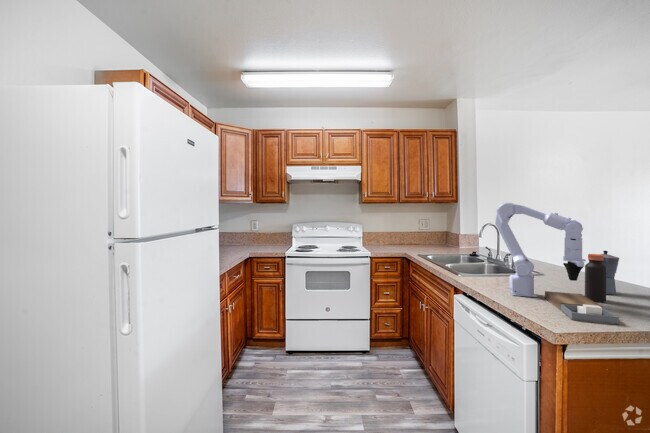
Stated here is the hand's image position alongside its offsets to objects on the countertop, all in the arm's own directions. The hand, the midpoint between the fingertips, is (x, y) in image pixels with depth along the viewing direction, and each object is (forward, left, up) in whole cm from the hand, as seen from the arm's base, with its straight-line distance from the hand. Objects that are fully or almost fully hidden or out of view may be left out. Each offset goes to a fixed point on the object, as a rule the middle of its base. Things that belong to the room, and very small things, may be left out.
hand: (572, 280), depth 121 cm
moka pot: (+19, +21, -10) cm, 30 cm away
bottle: (+10, +6, -10) cm, 15 cm away
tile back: (-2, -18, -9) cm, 20 cm away
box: (-2, -19, -9) cm, 21 cm away
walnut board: (-2, -6, -9) cm, 11 cm away
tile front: (-2, -20, -7) cm, 21 cm away
